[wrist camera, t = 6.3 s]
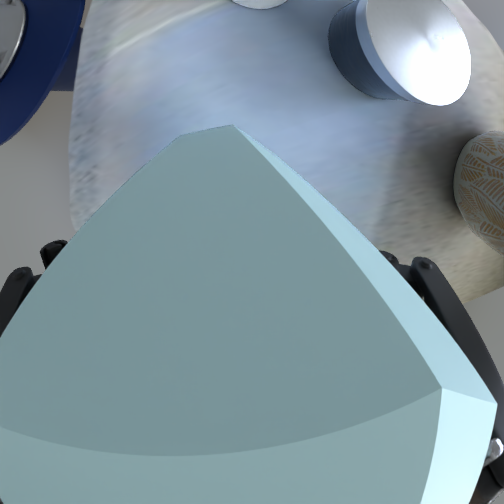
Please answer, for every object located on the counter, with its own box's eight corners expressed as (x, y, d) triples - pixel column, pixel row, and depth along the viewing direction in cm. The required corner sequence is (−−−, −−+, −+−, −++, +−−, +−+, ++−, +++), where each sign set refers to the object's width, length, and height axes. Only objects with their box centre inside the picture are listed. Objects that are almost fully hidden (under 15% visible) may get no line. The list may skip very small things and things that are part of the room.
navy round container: (326, -11, 18) (362, -41, 11) (419, 23, 20) (467, 14, 12) (323, 88, 25) (364, 84, 17) (417, 111, 26) (468, 121, 18)
